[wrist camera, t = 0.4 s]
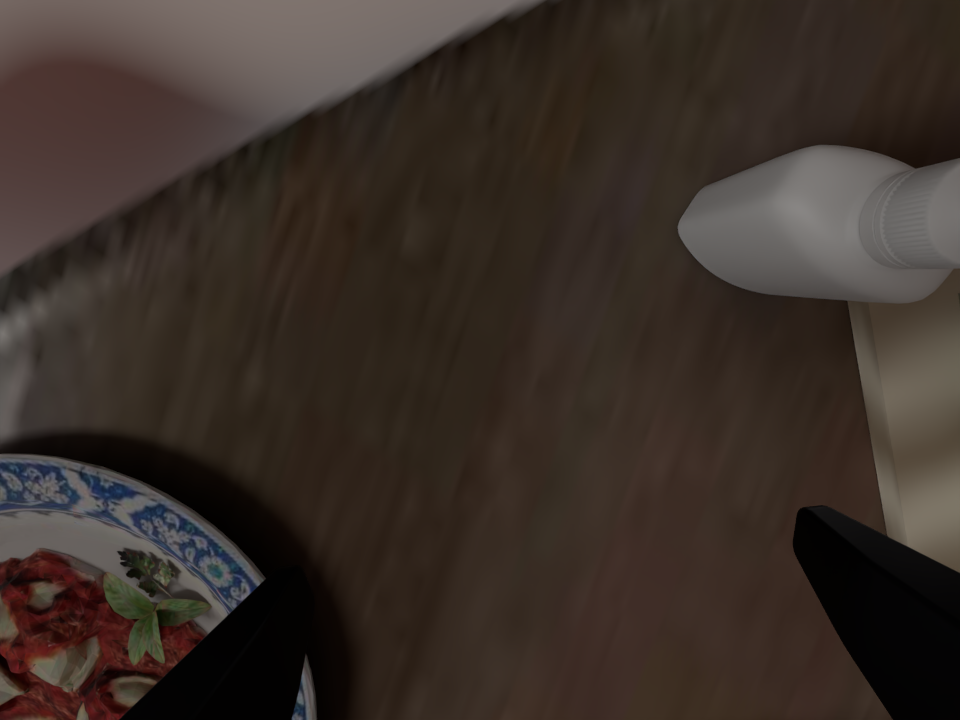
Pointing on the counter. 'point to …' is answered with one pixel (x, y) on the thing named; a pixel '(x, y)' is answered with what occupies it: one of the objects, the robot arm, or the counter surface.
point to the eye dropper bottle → (830, 226)
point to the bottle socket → (915, 414)
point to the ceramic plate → (105, 589)
